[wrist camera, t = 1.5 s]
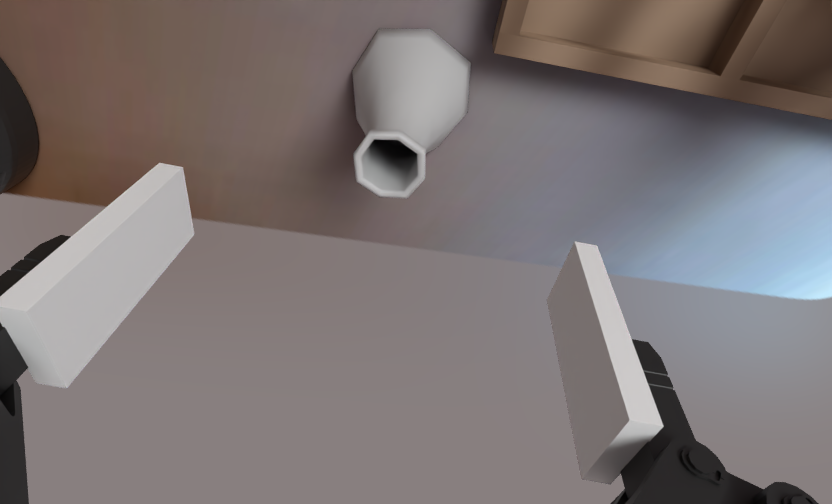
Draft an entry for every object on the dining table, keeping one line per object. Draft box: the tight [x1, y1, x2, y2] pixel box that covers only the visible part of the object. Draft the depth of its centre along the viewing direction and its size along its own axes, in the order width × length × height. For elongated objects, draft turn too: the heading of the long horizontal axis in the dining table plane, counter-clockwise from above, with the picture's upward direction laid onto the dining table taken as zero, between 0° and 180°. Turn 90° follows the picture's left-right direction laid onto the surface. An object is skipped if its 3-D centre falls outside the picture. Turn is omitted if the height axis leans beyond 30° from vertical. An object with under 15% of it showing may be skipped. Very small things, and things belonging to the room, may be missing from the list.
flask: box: [352, 29, 471, 199], centre depth 23 cm, size 7×7×10 cm
